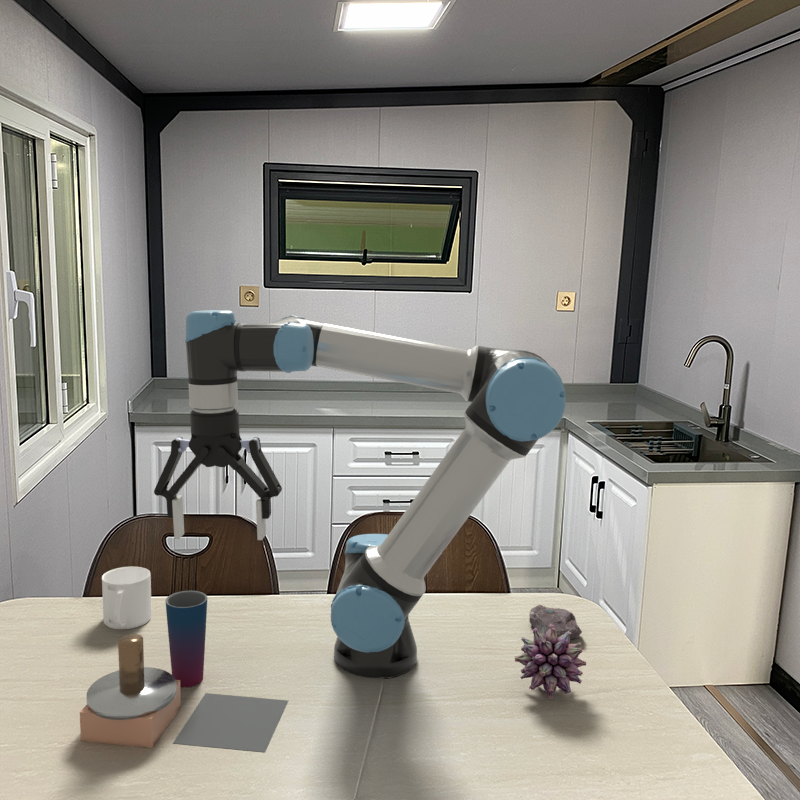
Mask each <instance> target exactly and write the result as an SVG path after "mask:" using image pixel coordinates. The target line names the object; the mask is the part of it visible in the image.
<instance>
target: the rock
mask: <svg viewBox="0 0 800 800" xmlns="http://www.w3.org/2000/svg"><path fill="white" fill-rule="evenodd" d="M529 611H530V612H529V619H528V620H529V621H528V622H529V623H530V625H531V626H532V628H534V629H535V628H537V629H538V631H539V632H541V633H542V634H544V635H545V636H546V633H547V631H548V630H549V627H550V624H551V625H554V628H555V629H556V634H557V637H558V638H559V637H560V636H562V635H564V634H565V633H566V632H568V631H569V632H571V633H572V634H571V636H570V640H572V639H577V638H579V637H580V636H581V634H582V633H583V631H582V629H581V628H580V627H579V625H578V623H577V619H576V615H574V613H573V612H572V611H570V610H567V609H564V608H561V607H558V608H555V607H547V606H544V605H541V604H538V605H536V606H534V607H533V608H531V609H530V610H529Z"/></svg>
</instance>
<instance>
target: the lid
mask: <svg viewBox="0 0 800 800" xmlns="http://www.w3.org/2000/svg"><path fill="white" fill-rule="evenodd" d="M117 650H118V651H117V652H118V654H117V655H118V670H116V671H115V670H114V671H113V672H109V673H107V674H105V675H103V676H101V677H100V678H98V679H97V680H95V681H94V682H93V683H92V684H91V685H90V686H89V688H88V690H87V691H86V705H87V707H88V709H89V710H90V711H91V712H92V713H93V714H95V715H97V716H99V717H102V718H106V719H112V720H127V719H135V718H140V717H144V716H147V715H150V714H153V713H155V712H157V711H159V710H161V709H163V708H164V707H166V706H167V705H168V704H170V703H171V701H172V700H173V699H174V697H175V695H176V680H175V678H174V677H173V675H172V673H170V672H168V671H167V670H164V669H161V668H157V667H149V666H145V657H144V650H145V649H144V637H143V635H141V634H137V633H131V634H126V635H123V636H121V637H119V638H118V640H117Z"/></svg>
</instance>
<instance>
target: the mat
mask: <svg viewBox="0 0 800 800" xmlns="http://www.w3.org/2000/svg"><path fill="white" fill-rule="evenodd" d="M288 703H289V700H288V699H277V698H275V699H274V698H266V697H265V698H263V697H253V696H243V695H232V694H231V695H230V694H220V693H218V694H217V693H211V692H210V693H209V692H205V693H204V694H203V696H202V698H201V699H200V701H199V703H198V704H197V705H196V706H195V708H194V710H193V711H192V713H191V715H190V716H189V718H188V720H187V721H186V722H185V724H184V725H183V727H182V729H181V730H180V731H179V733H178V735H177V736H176V737H175V739H174V740H173V742H172V744H173V745H182V746H183V745H185V746H195V747H196V746H197V747H206V748H214V749H215V748H216V749H225V750H237V751H247V752H249V751H250V752H257V753H266V752H267V751H266V750H267V749H268V746H269V744H270V742H271V740H272V738H273V736H274V733H275V731H276V729H277V727H278V725H279V722H280V720H281V718H282V716H283V714H284V712H285V709H286V707H287V705H288Z"/></svg>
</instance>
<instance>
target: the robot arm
mask: <svg viewBox="0 0 800 800" xmlns="http://www.w3.org/2000/svg"><path fill="white" fill-rule="evenodd" d="M184 343H185V348H186V360H187V361H186V362H187V363H186V364H187V374H188V375H187V376H188V382H187V383H188V401H189V402H188V403H189V407H190V408H191V409H192V410H191V412H190V413H189V418H190V419H189V420H190V435H191V436H190V437H191V438H190V439H187V438H183V437H182V436H177V437H176V438H174V439H173V440H171V445H170V454H169V456H168V458H167V460H166V463H165V465H164V467H163V470H162V472H161V474H160V476H159V478H158V481H157V483H156V485H155V488H154V490H153V494H154V495H155V496H161V497H164V498H165V500H166V515H167V517H168V519H169V518H172V520H173V535H174V536H173V538H174V540H180V539H181V537H182V536H184V535H185V522H184V519H185V517H184V505H183V504H184V502H183V495H181V494H180V495H178V494H179V492H180V491H181V490H182V488H183V487H184V486H185V484H186V483H187V482H188V481H189V480H190V478H191V477H192V476H193V475H194V474H195V472H196V471H197V469H199V467H200V466H201V465H203V466H204V467H206V468H212V467H213V468H214V467H219V468H226V467H228V466H229V467H230V468H231V469H232V470H233V471H236V473H238V475H239V476H240V477H241V478H242V479H243V481H244V482H246V485H248V486H249V487H250V488H251V490H253V492H254V493H255V494H256V495H257V496H258V498H257V499H256V501H255V508H256V510H255V513H256V534H257V535H256V536H257V541H263V540H264V538H265V537H266V535H267V533H266V532H267V531H266V530H267V529H266V527H267V525H266V520H269V518H270V517H271V515H272V498H274V497H278V496H279V495H280V493H281V492H282V490H283V488H282V486H281V483H280V482H279V480H278V478H277V476H276V474H275V472H274V470H273V469H272V467H271V466H270V464H269V461H268V460H267V458H266V455H265V454H264V452H263V450H262V446H261V440H260V439H261V438H260V437H258V436H254V437H253V438H250V439H249V438H248V439H242V438H241V434H240V415H239V414H240V413H239V410H238V409H237V408H236V407H237V406H238V405H239V394H238V393H239V392H238V387H239V386H238V372H275V373H276V372H278V373H279V372H281V373H282V372H284V373H287V374H290V373H293V372H305V371H308V370H309V369H310V368H311V367H319V368H324V369H328V370H329V369H330V370H333V371H334V370H335V371H340V372H344V373H349V374H355V375H360V376H366V377H370V378H376V379H381V380H387V381H391V382H397V383H402V384H406V385H412V386H418V387H423V388H428V389H433V390H439V391H443V392H449V393H454V394H459V395H461V396H462V398H463V399H464V400H465V402H469V405H468V407H467V408H466V410H465V411H464V412H463V415H464V422H465V428H464V429H463V431H462V432H461V433H460V435H459V436H458V438H457V439H456V440H455V442H454V443H453V444H452V446H451V447H450V449H449V450H448V451H447V453H446V454H445V456H444V457H443V458H442V460H441V461H440V463H439V464H438V465H437V466H436V468H435V469H434V471H433V472H432V473H431V475H430V477H429V478H428V479H427V480H426V481H425V483H424V484H423V486H422V487H421V489H420V490H419V491H418V493H417V495H416V496H415V498H413V500H412V501H411V503H410V504H409V506H408V507H407V508H406V510H405V511H404V512H403V514H402V515H401V517H400V518H399V520H397V523H396V524H395V525H394V527H393V528H392V529H391V531H390V532H389V533H388V534H387V533H363V534H357V535H354V536H351V537H350V538H348V540H346V543H345V550H344V554H345V565H344V571H343V573H342V574H343V575H342V577H341V579H340V582H339V585H338V587H337V590H336V594H335V595H334V597H333V598H332V600H331V601H332V602H331V604H330V623H331V626H332V629H333V632H334V633H335V634H336V636H337V638H336V640H335V643H334V647H333V660H334V662H335V664H336V665H337V666H338V667H339V668H340V669H342V670H343V671H344V672H347V674H348V673H349V674H351V675H354V676H359V677H363V678H370V679H372V678H374V679H376V678H377V679H381V678H382V679H390V678H394V677H397V676H400V675H403V674H405V673H407V672H409V671H410V670H411V669H413V667H414V666H415V665H416V664H417V660H418V659H417V656H418V646H417V642H416V639H415V636H414V633H413V629H412V627H411V623H410V620H409V615H410V613H411V612H412V610H413V609H414V607H416V605H417V604H418V602H419V601H420V599H421V598H422V597H423V595H425V593H426V589H427V588H426V583H425V576H426V575H427V574H428V573H429V571H430V570H431V569H432V567H433V566H434V565H435V563H436V562H437V560H438V559H439V558H440V556H441V555H442V554H443V552H444V551H445V550H446V548H447V547H448V545H449V544H450V543H451V541H452V540H453V538H455V536H456V535H457V534H458V532H459V531H460V529H461V528H462V527H463V526H464V524H465V523H466V521H467V520H468V518H469V517H470V516H471V514H472V513H473V512H474V510H475V509H476V507H477V506H478V505H479V503H480V502H481V501H482V500H483V498H484V497H485V496H486V494H487V493H488V491H489V490H490V489H491V487H492V486H493V485H494V484H495V482H496V481H497V479H498V478H499V476H500V475H501V473H502V472H503V471H504V470H505V468H506V467H507V465H508V464H509V463H510V462H511V461H512V460H516V459H523V458H526V457H527V455H528V454H529V453H530V451H531V450H532V449H533V447H534V446H535V445H536V443H537V442H538V440H539V439H542V438H544V437H546V436H547V435H548V434H550V433H552V432H553V430H555V428H556V427H557V426H558V425H559V423H560V421H561V420H562V418H563V415H564V413H565V410H566V409H565V408H566V403H567V401H566V400H567V398H566V389H565V385H564V383H563V381H562V378H561V376H560V374H559V373H558V372H557V370H556V369H555V368H553V367H552V366H551V365H550V364H549V363H548V362H547V361H546V360H545V359H544V358H543V357H541V356H539V355H538V354H537V353H535V352H532V351H529V350H522V349H521V350H520V349H508V348H507V349H504V348H495V347H487V346H482V345H477V344H476V345H475V346H473V347H472V348H470V349H465V348H460V347H456V346H455V347H454V346H447V345H444V344H437V343H434V342H433V343H432V342H426V341H421V340H416V339H411V338H405V337H400V336H394V335H388V334H383V333H377V332H373V331H368V330H363V329H356V328H352V327H346V326H341V325H340V326H339V325H335V324H331V323H330V324H329V323H322V322H317V321H313V320H308V319H306V318H305V317H303V316H296V315H289V316H285V317H283V318H281V319H279V320H276V321H273V322H268V323H267V322H265V323H263V322H262V323H260V322H259V323H241V322H237V320H236V319H235V314H234V312H233V311H232V310H226V309H224V310H222V309H206V310H205V309H204V310H195V311H191V312H189V313H188V314H187V315H186V318H185V340H184ZM188 448H189V450H190V451H191V452H192V453H193V455H194V458H193V459H192V460H191V461H190V463H189V464H188V465H187V466H186V468H185V469H184V471H183V472H182V473H181V474H180V475H179V477H177V479H176V481H175V482H174V483H173V484H172V485H171V486H170V487H168V486H169V484H170V482H171V480H172V477H173V475H174V473H175V471H176V468H177V466H178V464H179V461H180V459H181V457H182V455H183V453H185V452H186V451H187V449H188ZM242 448H244V449H245V451H246V453H249V454H250V456H251V459H252V461H253V462H254V464H255V466H256V468H257V470H258V472H259V473H260V475H261V477H262V479H263V481H264V482H265V483H264V482H263V481H262V479H261V478H260V477H259V476H258V475H257V473H255V472H254V471H253V469H252V468H251V467H250V466H249V465H248V463H247V462H246V460H245V459H244V457H243V456H242V455H240V452H241V450H242Z"/></svg>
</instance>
